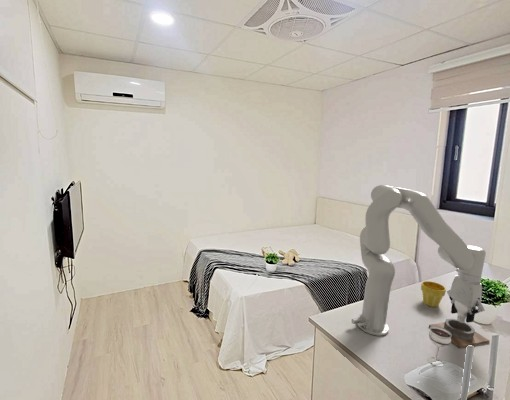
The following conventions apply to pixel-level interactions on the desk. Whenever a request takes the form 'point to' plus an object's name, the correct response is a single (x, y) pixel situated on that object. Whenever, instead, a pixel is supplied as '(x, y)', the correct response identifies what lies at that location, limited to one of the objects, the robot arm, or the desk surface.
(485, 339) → the bulb holder
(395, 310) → the desk surface
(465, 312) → the lightbulb
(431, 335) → the wineglass
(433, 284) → the plant pot
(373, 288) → the robot arm
